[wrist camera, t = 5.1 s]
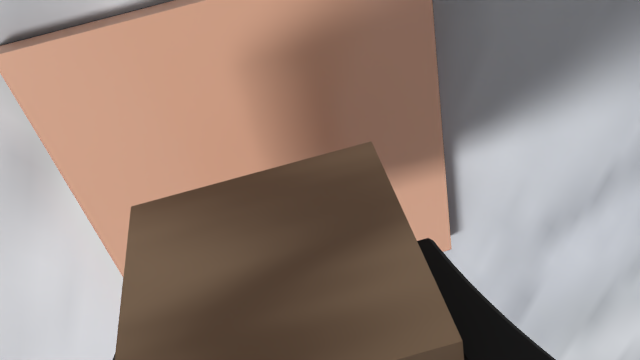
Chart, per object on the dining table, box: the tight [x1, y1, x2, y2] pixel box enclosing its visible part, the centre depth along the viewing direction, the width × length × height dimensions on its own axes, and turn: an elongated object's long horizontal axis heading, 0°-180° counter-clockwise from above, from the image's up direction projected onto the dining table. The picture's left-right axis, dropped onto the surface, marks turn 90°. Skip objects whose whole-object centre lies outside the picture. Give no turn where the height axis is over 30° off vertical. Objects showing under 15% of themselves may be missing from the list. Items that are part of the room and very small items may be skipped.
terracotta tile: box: [0, 0, 451, 277], centre depth 17 cm, size 10×10×1 cm
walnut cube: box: [115, 141, 464, 360], centre depth 12 cm, size 5×5×5 cm
